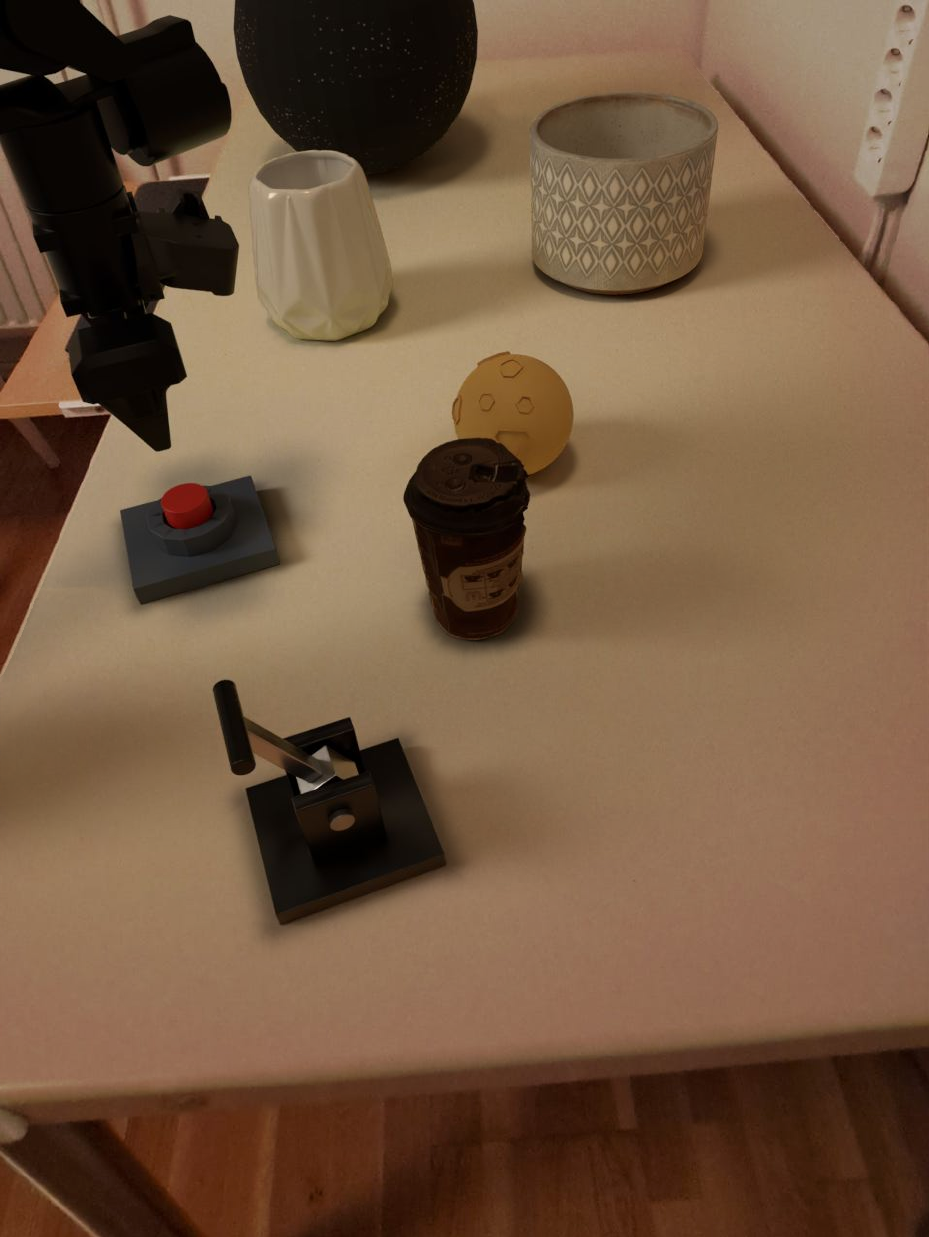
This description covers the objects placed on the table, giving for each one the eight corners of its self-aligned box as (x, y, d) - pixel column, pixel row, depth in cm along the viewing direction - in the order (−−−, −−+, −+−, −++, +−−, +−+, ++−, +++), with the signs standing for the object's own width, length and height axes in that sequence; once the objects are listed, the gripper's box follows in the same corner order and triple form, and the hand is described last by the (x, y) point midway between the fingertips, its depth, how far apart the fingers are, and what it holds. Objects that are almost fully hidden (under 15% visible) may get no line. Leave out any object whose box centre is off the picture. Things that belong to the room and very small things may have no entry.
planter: (728, 244, 105) (748, 105, 95) (655, 319, 95) (668, 174, 85) (581, 213, 113) (585, 82, 103) (500, 280, 103) (494, 142, 93)
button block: (140, 604, 72) (125, 571, 69) (126, 525, 78) (112, 492, 76) (280, 564, 74) (270, 530, 71) (255, 490, 80) (245, 457, 78)
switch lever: (216, 777, 45) (254, 750, 45) (198, 695, 49) (233, 668, 48) (339, 838, 52) (373, 815, 52) (316, 763, 56) (347, 740, 56)
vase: (377, 354, 94) (355, 202, 83) (246, 347, 97) (207, 199, 86) (410, 286, 103) (394, 141, 92) (290, 281, 106) (260, 140, 95)
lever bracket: (280, 925, 53) (250, 861, 48) (249, 798, 59) (220, 729, 54) (446, 864, 55) (435, 797, 50) (400, 748, 61) (386, 676, 56)
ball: (485, 205, 116) (471, -93, 95) (247, 220, 118) (179, -70, 96) (482, 117, 137) (470, -145, 115) (279, 131, 138) (229, -125, 117)
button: (170, 534, 72) (163, 517, 71) (164, 507, 74) (157, 489, 73) (216, 522, 73) (210, 504, 72) (209, 495, 75) (203, 477, 74)
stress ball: (515, 417, 85) (512, 316, 78) (596, 462, 80) (601, 359, 73) (433, 466, 81) (422, 365, 74) (512, 518, 76) (509, 414, 68)
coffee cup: (560, 612, 68) (563, 470, 59) (475, 674, 65) (463, 533, 55) (480, 554, 73) (471, 414, 64) (397, 609, 70) (374, 469, 60)
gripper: (237, 226, 51) (294, 459, 62) (187, 116, 63) (243, 327, 74) (25, 272, 49) (125, 504, 60) (17, 148, 61) (101, 360, 72)
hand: (155, 414), depth 67 cm, fingers open, 8 cm apart
